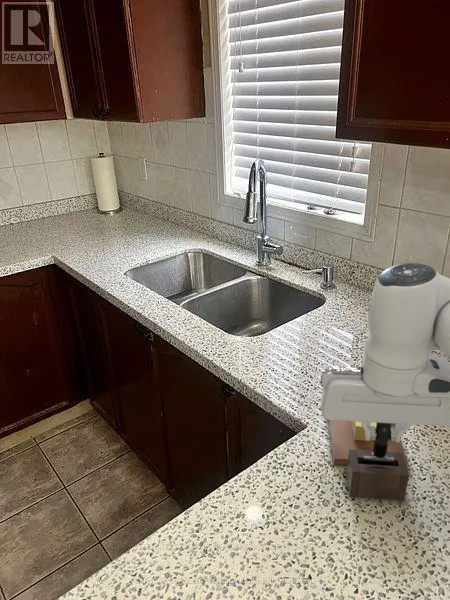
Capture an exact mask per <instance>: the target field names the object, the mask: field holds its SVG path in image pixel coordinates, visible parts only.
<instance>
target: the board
mask: <svg viewBox="0 0 450 600" xmlns="http://www.w3.org/2000/svg"><path fill="white" fill-rule="evenodd" d="M327 421H328V428H329V437H330V444H331V454H332V462H333V465H336V466H347V462H348V453H349V449H353V450H370V451H373V445H374V441H362V440H354V435H353V430H352V424H351V421H337V420H327ZM396 425H397V424H394V423H391V427H395V426H396ZM387 452H402V453H403V456H404V460H405V463H406V466H407V467H408V465H409V462H408V459H407V455H406V453H405V449H404V446H403V443H402V440H401V439H400V442H390V441H389V442H388V448H387Z"/></svg>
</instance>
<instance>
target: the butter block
mask: <svg viewBox="0 0 450 600" xmlns="http://www.w3.org/2000/svg"><path fill="white" fill-rule="evenodd" d="M351 424H352V430H353V435H354V440H362V441H366V438H365V430H364V428H363V427H362V425H361V422H356V421H351ZM376 425H377V423H375V422H371V425H370V426H375V431H376Z"/></svg>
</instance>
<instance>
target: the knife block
mask: <svg viewBox="0 0 450 600" xmlns="http://www.w3.org/2000/svg"><path fill="white" fill-rule="evenodd" d="M371 452H373V451H370V450H353V449H349V453H348V462H347V465H346V472H345V475H346V483H347V489H348V495H349V496H348V497H351V498H363V499H376V500H389V501H401V502H404V501H405V497H406V494H407V490H408V489H407V488H408V484H409V479H410V473H409V470H408V465H407V466H406V463H405V460H404V456H403V453H402V452H387V454H386V455H387V457H393V458H394V464H393V466H384V465H369V464H362V461H363V456H371Z"/></svg>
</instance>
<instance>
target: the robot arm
mask: <svg viewBox="0 0 450 600" xmlns="http://www.w3.org/2000/svg"><path fill="white" fill-rule="evenodd" d="M366 326H367V331H368V335H367V339H366V341H365V343H364V345H363V353H362V354H363V355H362V362H361V366H346V367H345V366H340V365H335V366H331V368H328V369H325V370H324V371H323V372H322V374H321V376H320V386H321V388H322V392H321V398H320V410H321V415H322V417H324V419H325V420H327V421H328V420H337V421H356V422H361V425H362V427H363V428H364V430H365V438H366V441H376V435H377V433H376V431H375V426H370V425H371V422H375V423H394V424H396V426H395V427H391V430H390V436H389V441H390V442H400V440H401V437H402V436H403V435H404V434H405V433H406V432H407V431H409V430H410V428H411V425H416V426H434V427H450V363H449V362H448V361H447V359H448V360H449V361H450V277H448V276H445V275H443V274H441V273H440V272H438V271H437V270H435V268H433V266H430V265H427V264H423V263H417V262H403V263H399V264H394V265H391V266H389V267H388V268H386V269H384V270H383V271H382V272H381V273H380V274H379V276H378V277H377V279H376V281H375V283H374V286H373V288H372V293H371V297H370V301H369V305H368V313H367V321H366ZM432 351H441V352H442V353H443V354H444V355H445V356H446V358H447V359H446V358H444V357H442V356H439V355H435V354H431V352H432Z"/></svg>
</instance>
